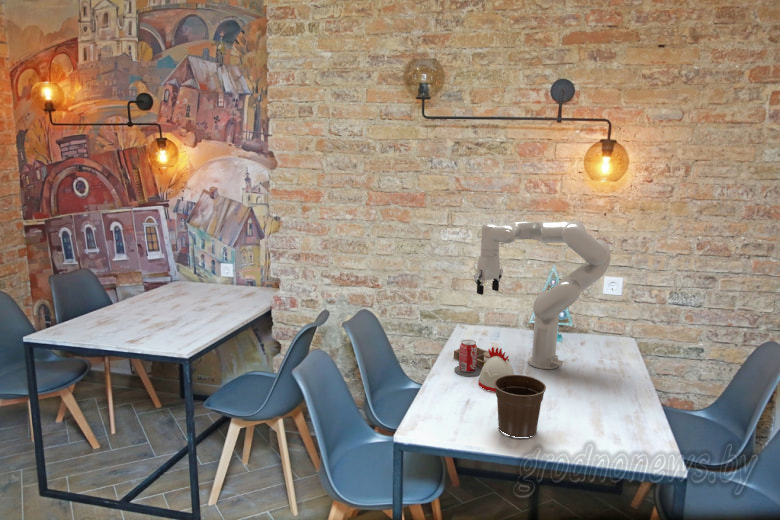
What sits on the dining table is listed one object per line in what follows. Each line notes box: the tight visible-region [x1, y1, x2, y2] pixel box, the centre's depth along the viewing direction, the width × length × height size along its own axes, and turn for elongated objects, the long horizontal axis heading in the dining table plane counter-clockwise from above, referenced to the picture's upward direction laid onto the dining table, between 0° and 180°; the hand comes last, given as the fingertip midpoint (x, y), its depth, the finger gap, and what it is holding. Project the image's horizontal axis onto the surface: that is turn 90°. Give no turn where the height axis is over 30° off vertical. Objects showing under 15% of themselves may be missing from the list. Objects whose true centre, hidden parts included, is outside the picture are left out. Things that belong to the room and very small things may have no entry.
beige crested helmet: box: [478, 346, 515, 393], centre depth 230 cm, size 14×14×15 cm
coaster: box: [453, 365, 481, 378], centre depth 244 cm, size 11×11×1 cm
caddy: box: [453, 346, 510, 370], centre depth 253 cm, size 21×11×4 cm, turn 40°
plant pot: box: [494, 374, 547, 437], centre depth 194 cm, size 16×16×16 cm
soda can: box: [458, 339, 478, 373], centre depth 243 cm, size 7×7×12 cm
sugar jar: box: [484, 351, 491, 362], centre depth 249 cm, size 5×5×6 cm
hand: (487, 292), depth 256 cm, fingers open, 9 cm apart
